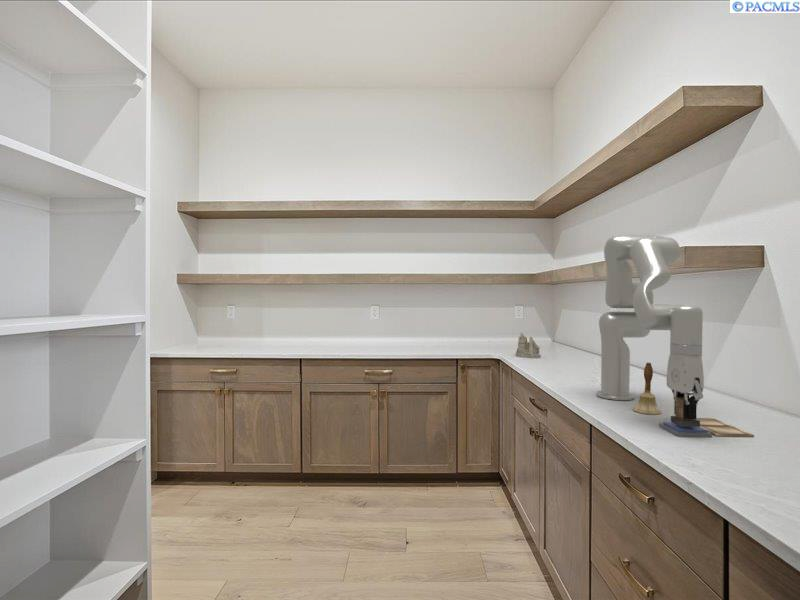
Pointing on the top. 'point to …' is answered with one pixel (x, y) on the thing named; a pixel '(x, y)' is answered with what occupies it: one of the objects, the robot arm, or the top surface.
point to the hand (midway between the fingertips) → (685, 416)
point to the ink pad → (685, 430)
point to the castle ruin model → (527, 348)
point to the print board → (722, 428)
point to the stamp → (678, 416)
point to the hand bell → (647, 395)
